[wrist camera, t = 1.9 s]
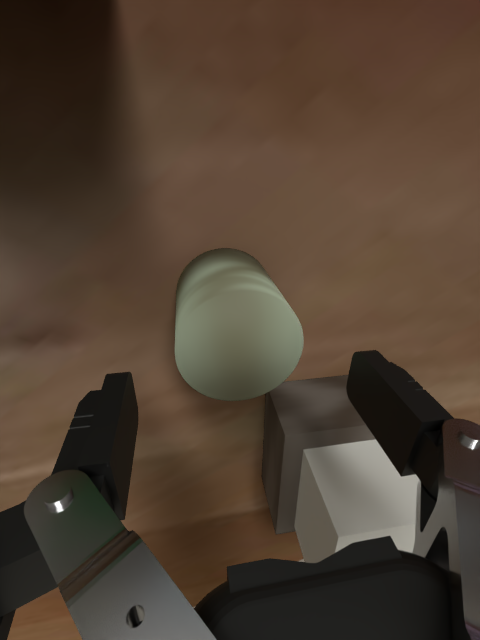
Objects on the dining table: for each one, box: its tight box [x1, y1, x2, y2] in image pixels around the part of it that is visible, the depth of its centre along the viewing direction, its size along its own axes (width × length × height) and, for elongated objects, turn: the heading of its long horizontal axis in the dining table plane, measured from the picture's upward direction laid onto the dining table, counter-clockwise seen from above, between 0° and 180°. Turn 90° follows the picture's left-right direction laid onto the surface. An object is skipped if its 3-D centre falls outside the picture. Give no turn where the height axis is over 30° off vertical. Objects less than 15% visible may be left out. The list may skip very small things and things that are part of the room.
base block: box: [262, 375, 375, 534], centre depth 24 cm, size 10×10×5 cm
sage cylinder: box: [175, 248, 304, 401], centre depth 16 cm, size 6×6×6 cm
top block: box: [294, 439, 419, 563], centre depth 20 cm, size 8×8×5 cm
